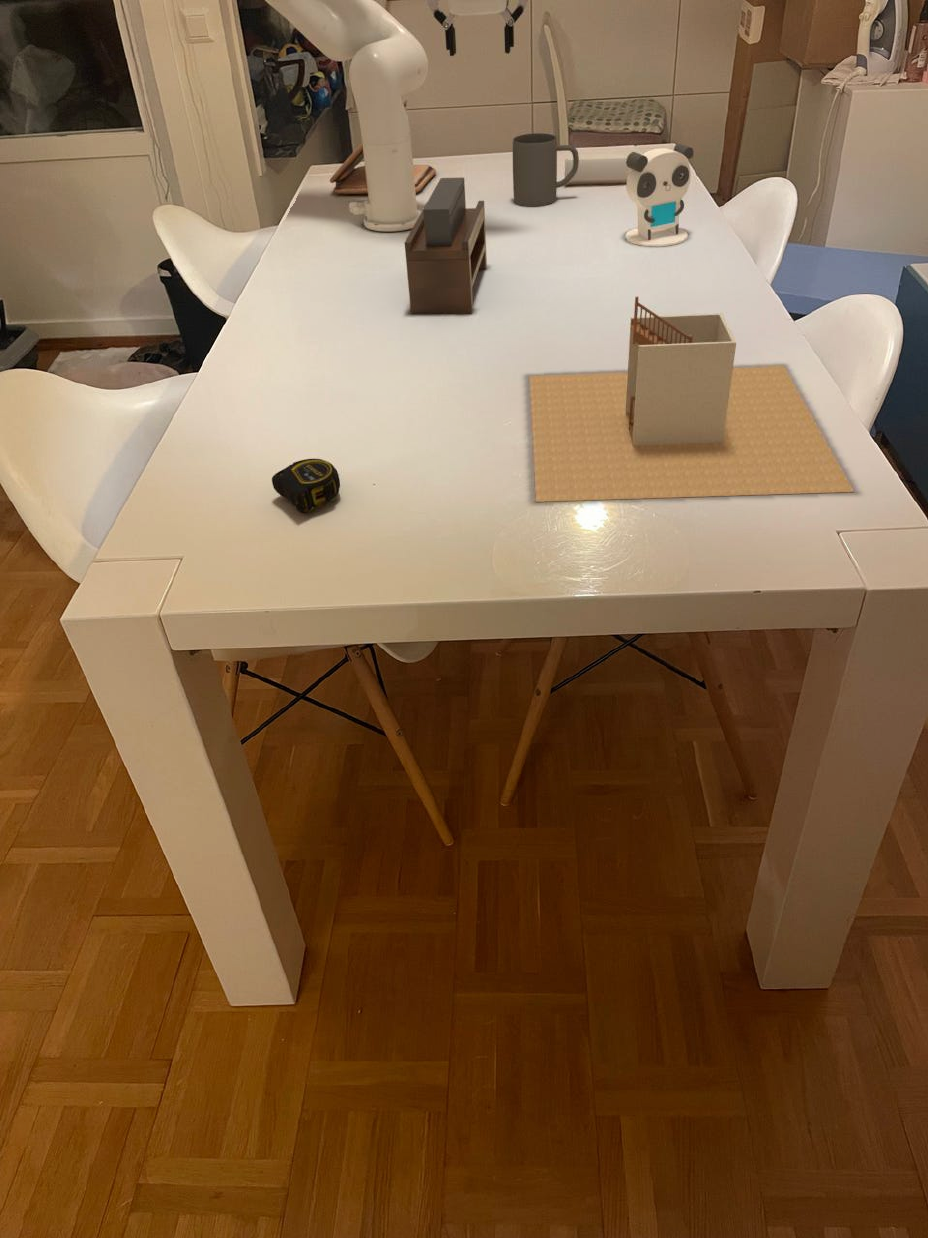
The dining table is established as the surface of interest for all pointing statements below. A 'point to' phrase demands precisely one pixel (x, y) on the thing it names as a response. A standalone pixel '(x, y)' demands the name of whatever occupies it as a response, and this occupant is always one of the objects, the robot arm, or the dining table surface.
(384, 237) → the dining table surface
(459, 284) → the shelf
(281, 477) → the tape measure
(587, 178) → the tube
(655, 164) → the panda standee
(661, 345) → the staircase
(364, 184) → the case
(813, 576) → the dining table surface
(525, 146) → the mug
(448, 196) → the case
